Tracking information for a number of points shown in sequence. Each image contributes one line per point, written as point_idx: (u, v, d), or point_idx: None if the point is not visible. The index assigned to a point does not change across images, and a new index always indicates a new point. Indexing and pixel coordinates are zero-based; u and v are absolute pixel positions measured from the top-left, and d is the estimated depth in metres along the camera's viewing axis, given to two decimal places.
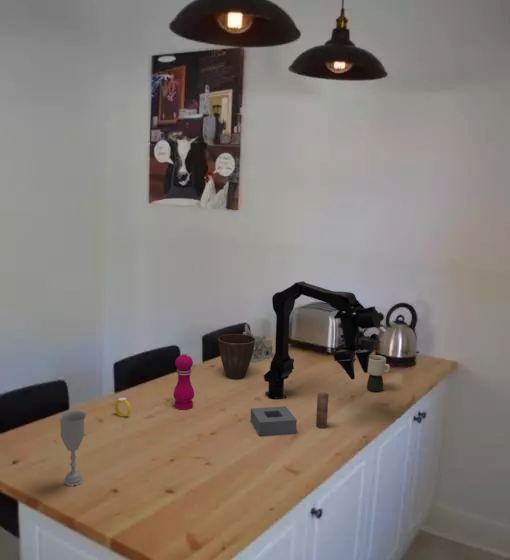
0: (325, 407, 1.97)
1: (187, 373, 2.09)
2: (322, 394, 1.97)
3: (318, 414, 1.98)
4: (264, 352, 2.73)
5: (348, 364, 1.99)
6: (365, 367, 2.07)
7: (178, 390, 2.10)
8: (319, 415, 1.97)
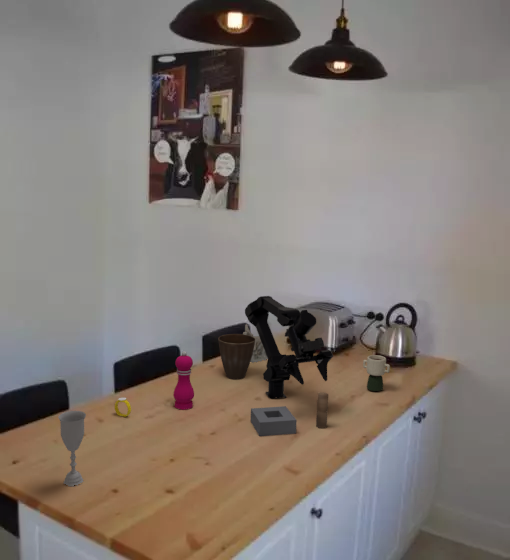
0: (325, 407, 1.97)
1: (187, 373, 2.09)
2: (322, 394, 1.97)
3: (318, 414, 1.98)
4: (264, 352, 2.73)
5: (294, 370, 2.02)
6: (324, 375, 2.05)
7: (178, 390, 2.10)
8: (319, 415, 1.97)
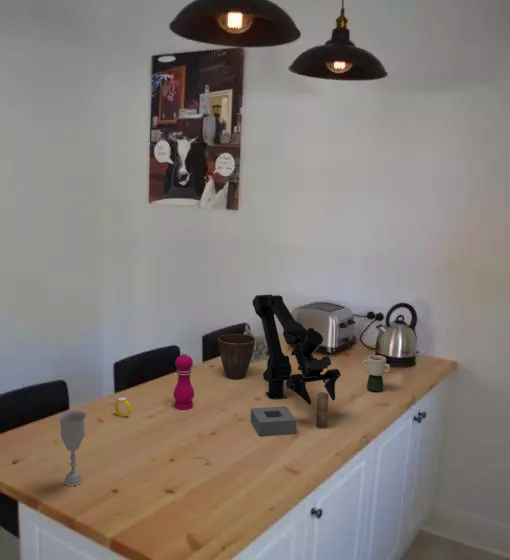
0: (325, 407, 1.97)
1: (187, 373, 2.09)
2: (322, 394, 1.97)
3: (318, 414, 1.98)
4: (265, 352, 2.73)
5: (301, 390, 1.98)
6: (332, 394, 2.01)
7: (178, 390, 2.10)
8: (319, 415, 1.97)
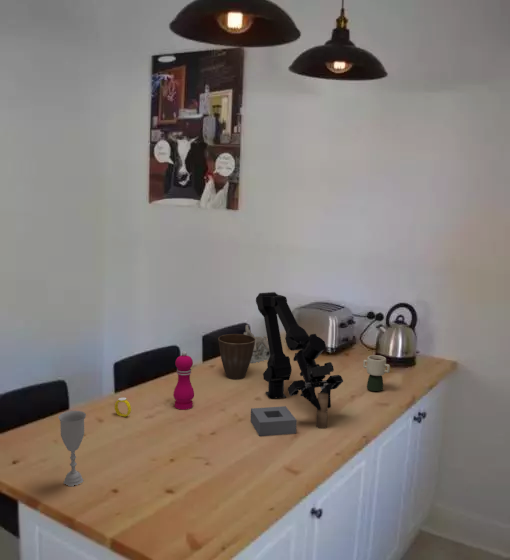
0: (325, 407, 1.97)
1: (187, 373, 2.09)
2: (322, 394, 1.97)
3: (318, 414, 1.98)
4: (265, 352, 2.73)
5: (311, 395, 1.98)
6: None
7: (178, 390, 2.10)
8: (319, 415, 1.97)
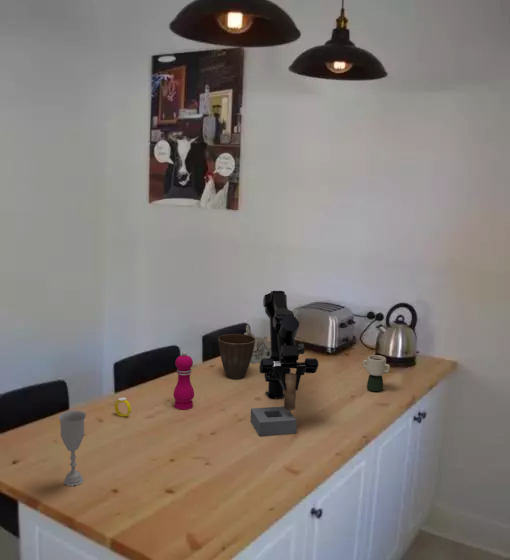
0: (291, 388, 1.93)
1: (187, 373, 2.09)
2: (290, 375, 1.94)
3: (285, 395, 1.95)
4: (265, 353, 2.72)
5: None
6: (296, 384, 1.95)
7: (178, 390, 2.10)
8: (285, 395, 1.94)
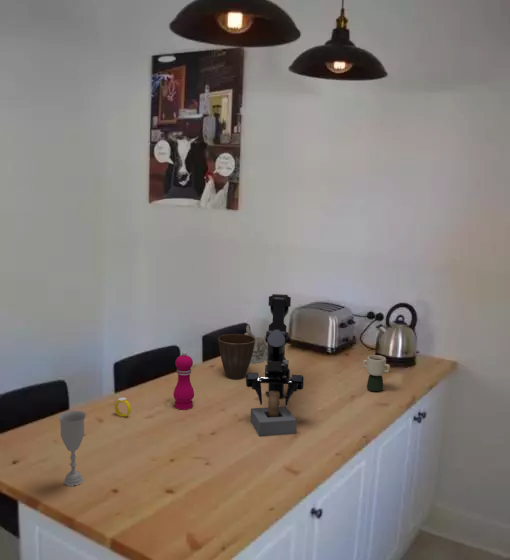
0: (273, 405, 1.95)
1: (187, 373, 2.09)
2: (273, 392, 1.96)
3: (268, 411, 1.96)
4: (266, 353, 2.72)
5: None
6: None
7: (178, 390, 2.10)
8: (268, 412, 1.96)
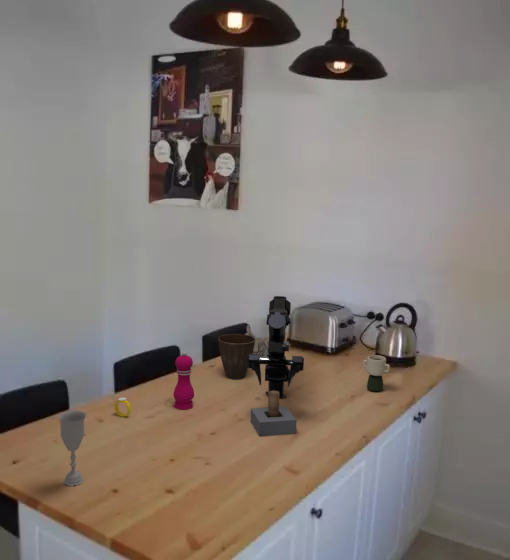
0: (273, 406, 1.94)
1: (187, 373, 2.09)
2: (273, 392, 1.95)
3: (268, 411, 1.96)
4: (266, 353, 2.71)
5: None
6: (288, 380, 1.99)
7: (178, 390, 2.10)
8: (268, 412, 1.96)
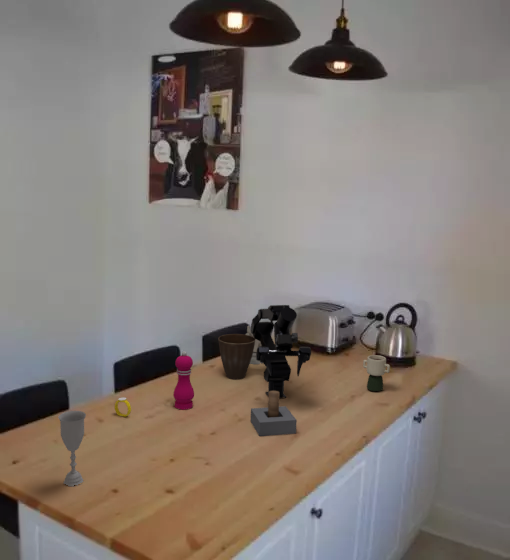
0: (273, 406, 1.94)
1: (187, 373, 2.09)
2: (273, 392, 1.95)
3: (268, 411, 1.96)
4: None
5: (267, 361, 2.10)
6: (297, 370, 2.08)
7: (178, 390, 2.10)
8: (268, 412, 1.96)
